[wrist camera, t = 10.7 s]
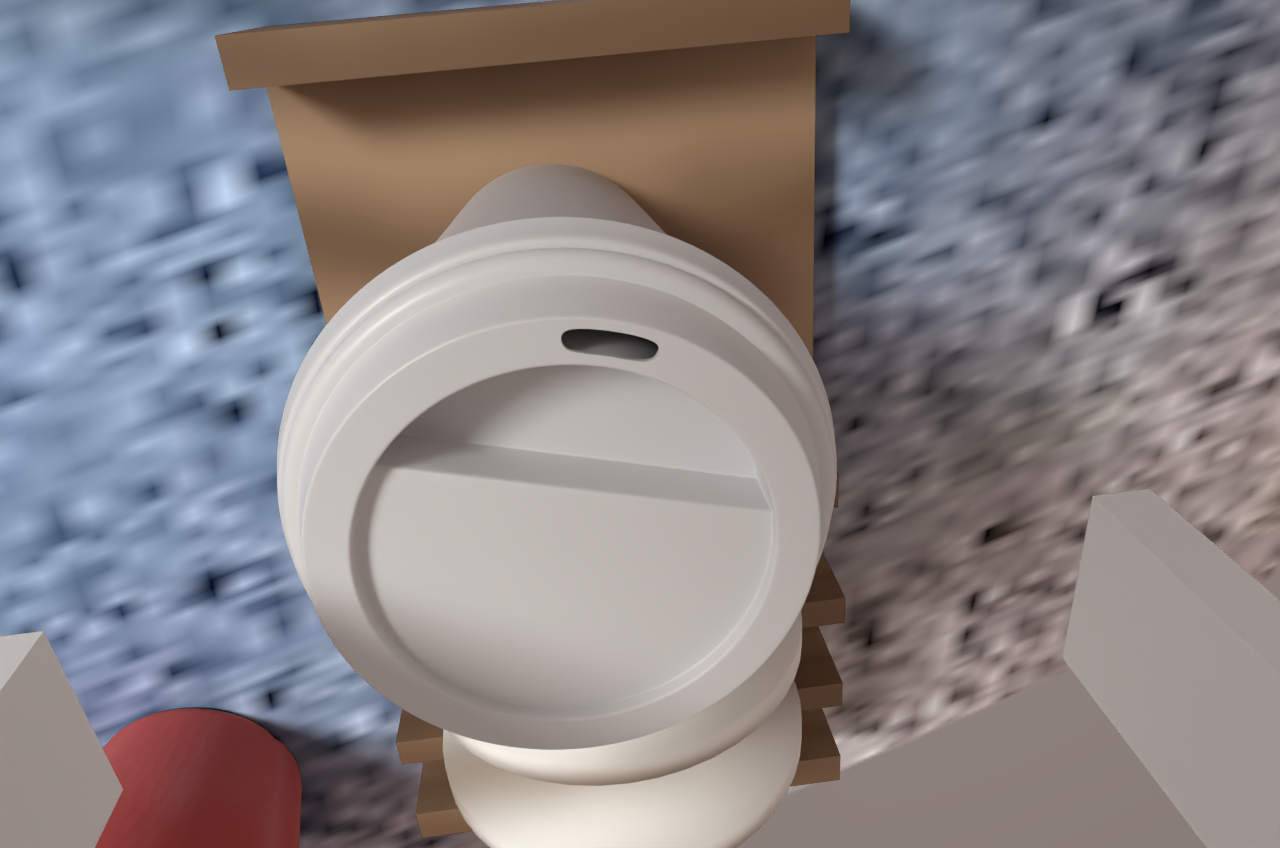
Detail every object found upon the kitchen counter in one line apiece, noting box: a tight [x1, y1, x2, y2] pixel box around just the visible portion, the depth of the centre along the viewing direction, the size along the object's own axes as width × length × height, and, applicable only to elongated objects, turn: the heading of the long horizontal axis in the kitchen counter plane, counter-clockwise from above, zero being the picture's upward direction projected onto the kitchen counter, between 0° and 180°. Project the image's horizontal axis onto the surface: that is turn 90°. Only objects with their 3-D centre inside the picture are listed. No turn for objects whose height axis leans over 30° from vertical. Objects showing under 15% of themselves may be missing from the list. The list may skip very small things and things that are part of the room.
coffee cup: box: [277, 164, 837, 750], centre depth 20 cm, size 10×10×15 cm
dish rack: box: [215, 0, 850, 848], centre depth 25 cm, size 26×15×12 cm, turn 5°
